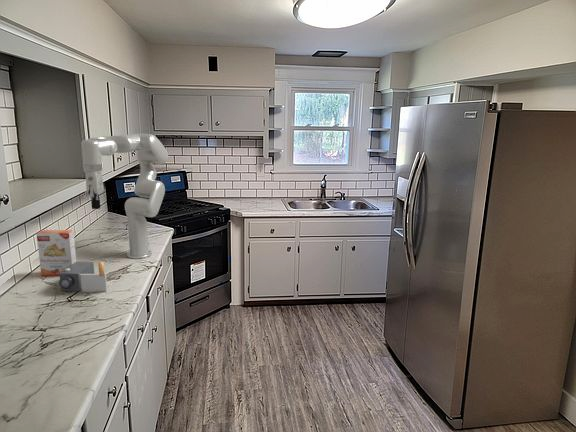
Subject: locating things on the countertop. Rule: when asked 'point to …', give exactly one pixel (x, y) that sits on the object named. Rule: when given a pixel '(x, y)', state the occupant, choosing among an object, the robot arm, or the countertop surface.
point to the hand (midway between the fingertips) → (96, 208)
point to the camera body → (74, 275)
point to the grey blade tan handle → (93, 280)
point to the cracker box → (55, 251)
